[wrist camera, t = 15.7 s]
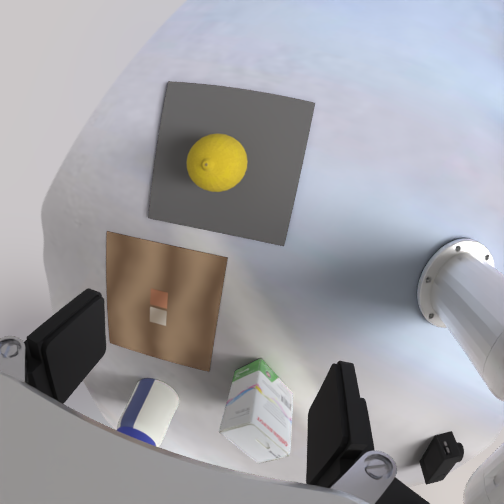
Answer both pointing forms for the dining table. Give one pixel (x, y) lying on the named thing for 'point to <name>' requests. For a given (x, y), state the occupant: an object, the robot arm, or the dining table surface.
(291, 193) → the rubber mat
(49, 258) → the dining table surface
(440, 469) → the digital camera
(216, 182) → the lemon
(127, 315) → the board
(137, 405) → the water bottle
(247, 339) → the dining table surface
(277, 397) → the ink box
